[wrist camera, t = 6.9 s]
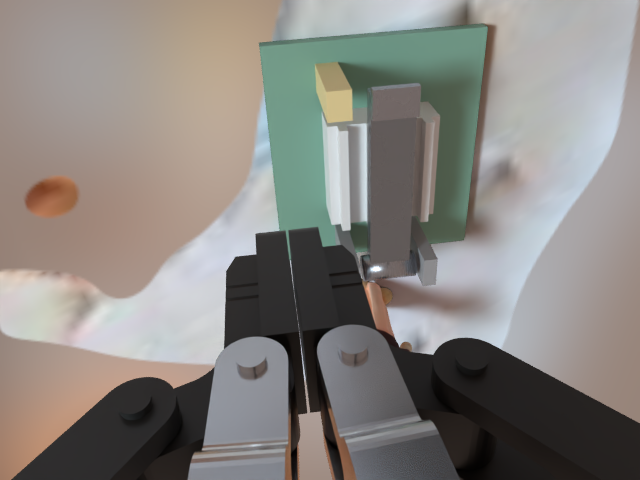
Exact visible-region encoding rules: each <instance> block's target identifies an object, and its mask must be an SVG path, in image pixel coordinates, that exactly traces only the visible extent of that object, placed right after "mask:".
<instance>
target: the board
mask: <svg viewBox="0 0 640 480" xmlns="http://www.w3.org/2000/svg"><path fill="white" fill-rule="evenodd" d="M487 31H488V27H487V26H486V25H484V24H473V25H461V26H449V27H438V28H426V29H414V30H402V31H391V32H379V33H367V34H356V35H344V36H332V37H320V38H309V39H297V40H285V41H273V42H262V43H259V47H260V56H261V65H262V74H263V83H264V92H265V101H266V111H267V120H268V129H269V138H270V147H271V156H272V165H273V174H274V183H275V192H276V202H277V211H278V220H279V229H280V231H284V230H286V237H287V245H288V252H289V260H291V254H290V245H289V234H288V230H292V229H301V228H310V227H318V228H319V233H320V237H321V241H322V246H323V247H326V246H335V245H343V246H344V247H345V248H346V249H347V250H348V251H349V252H351V253H352V254H353V255H354V256H355V259H356V263H357V266H358V269H359V273H360V276H361V267H360V264H359V261H358V257H357V254H356V253H357V252H365V251H367V88H371V87H378V86H388V85H399V84H410V83H419V84H420V85H421V99H420V117H417V122H416V141H415V161H414V180H413V199H412V218H411V237H410V250H413V252H414V254H415V258H416V264H417V274H418V276H419V279H420V281H421V283H422V285H423V286H427V285H435V284H436V272H437V260H438V259H437V257H436V255H435V253H434V251H433V249H432V247H431V246H430V244H435V243H444V242H453V241H461V240H464V237H465V228H466V219H467V210H468V201H469V192H470V183H471V174H472V165H473V156H474V147H475V138H476V129H477V120H478V111H479V102H480V93H481V84H482V75H483V66H484V57H485V49H486V40H487Z"/></svg>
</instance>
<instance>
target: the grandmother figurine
mask: <svg viewBox="0 0 640 480" xmlns="http://www.w3.org/2000/svg"><path fill="white" fill-rule="evenodd" d="M362 283H363V286H364V289H365V292H366V295H367V299H368V302H369V305H370V309H371V312H372V315H373V318H374V322H375V325H376V328H377V330H378V332H379V333H380V334H381V335H382V336H383V337H384V338H385V339H386V341H387V342H388V343H389V344H391V345H393V346H394V347H397V348H399V345H398V343H397V342H396V340H395V337H394V334H393V331H392V328H391V324H390V320H389V316H388V312H387V308H386V304H388V303H389V302H390V301H391V300H392V296H393V295H392V292H391V291H390V290H389V289H387V288H380V286H379V285H378V284H376V283H374V282H369V283H368V282H367V281H363V280H362ZM399 349H401V350H405V351H408V352H411V350H412V346H411V344H410V343H409V342H403V343H402V344H401V346H400V348H399Z"/></svg>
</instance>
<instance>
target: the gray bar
mask: <svg viewBox="0 0 640 480" xmlns="http://www.w3.org/2000/svg"><path fill="white" fill-rule="evenodd" d="M420 99H421V85H420V84H419V83H410V84H399V85H388V86H378V87H371V88H367V255H363V256H361V257H360V267H361V274H362V278H363V281H372V280H380V279H389V278H397V277H406V276H414V275H416V272H417V264H416V258H415V254H414V252H413V250H410V237H411V218H412V199H413V180H414V161H415V141H416V122H417V117H420Z"/></svg>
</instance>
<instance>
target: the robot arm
mask: <svg viewBox="0 0 640 480" xmlns="http://www.w3.org/2000/svg"><path fill="white" fill-rule="evenodd" d="M288 234H289V245H290V254H291V264H292V274H293V282H292V275H291V267H290V260H289V252H288V245H287V237H286V230H284V231H275V232H266V233H257V234H256V253H257V255H248V256H239V257H235V259H234V260H233V262H232V263H231V265H230V266H229V268H228V269H227V271H226V304H225V340H224V350H223V351H222V352H221V353H220V355H219V356H218V358H217V360H216V363H215V367H214V368H213V369H212V370H211V371H210V372H208V373H207V374H206V375H204V376H203V377H201V378H199V379H197V380H195V381H193V382H190V383H187V384H185V385H182V386H180V387H177V388H175V389H173V387H172V386H171V385H170V384H169V383H167V382H166V381H164V380H162V379H158V378H153V377H144V378H137V379H133V380H130V381H127V382H125V383H123V384H121V385H120V386H118V387H116V388H114V389H113V390H112V391H111V392H109V393H108V394H107V395H106V396H105V397H104V398H103V399H102V400H100V401H99V402H98V403H97V404H96V405H95V406H94V407H93V408H92V409H90V410H89V411H88V412H87V413H86V414H85V415H84V416H82V417H81V418H80V419H79V420H78V421H77V422H76V423H75V424H73V425H72V426H71V427H70V428H69V429H68V430H67V431H65V432H64V433H63V434H62V435H61V436H60V437H59V438H58V439H57V440H55V441H54V442H53V443H52V444H51V445H50V446H49V447H47V449H45V450H44V451H43V452H42V453H41V454H40V455H39V456H37V457H36V458H35V459H34V460H33V461H32V462H31V463H30V464H28V465H27V466H26V467H25V468H24V469H23V470H22V471H21V472H20V473H18V474H17V475H16V476H15V477H14V478H13V479H12V480H300V479H299V447H298V442H299V439H300V426H299V417H298V414H305V413H307V406H306V396H305V385H304V375H303V365H302V355H301V346H302V354H303V361H304V369H305V376H306V383H307V391H308V398H309V406H310V412H319V411H320V412H321V419H322V425H323V436H324V446H325V450H326V454H327V459H328V463H329V467H330V471H331V475H332V479H333V480H640V423H638V422H636V421H634V420H632V419H630V418H629V417H627V416H625V415H623V414H621V413H619V412H617V411H615V410H613V409H612V408H610V407H608V406H606V405H604V404H602V403H600V402H598V401H597V400H595V399H593V398H591V397H589V396H587V395H585V394H583V393H582V392H580V391H578V390H576V389H574V388H572V387H570V386H568V385H567V384H565V383H563V382H561V381H559V380H557V379H555V378H554V377H552V376H550V375H548V374H546V373H544V372H542V371H540V370H539V369H537V368H535V367H533V366H531V365H529V364H527V363H525V362H524V361H522V360H520V359H518V358H516V357H514V356H512V355H510V354H509V353H506V352H505V351H503V350H501V349H499V348H497V347H495V346H493V345H492V344H490V343H487V342H485V341H482V340H479V339H474V338H457V339H453V340H449V341H447V342H445V343H443V344H442V345H441V346H439V347H438V349H437V350H436V351H435V353H434V355H430V354H422V353H414V352H408V351H405V350H401V349H399V348H397V347H394V346H393V345H391V344H389V343H388V342H387V341H386V339H385V338H384V337H383V336H382V335H381V334H380V333H379V332H378V330H377V328H376V325H375V322H374V318H373V315H372V312H371V309H370V305H369V302H368V299H367V295H366V292H365V289H364V286H363V283H362V279H361V276H360V273H359V269H358V266H357V263H356V259H355V256H354V255H353V254H352V253H351V252H349V251H348V250H347V249H346V248H345V247H344V246H343V245H335V246H326V247H323V246H322V241H321V237H320V233H319V228H318V227H310V228H301V229H292V230H288ZM293 284H294V289H293ZM294 293H295V297H294ZM295 301H296V304H295ZM296 309H297V312H296ZM297 317H298V319H297ZM298 324H299V327H298ZM299 332H300V335H299ZM300 339H301V345H300Z"/></svg>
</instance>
